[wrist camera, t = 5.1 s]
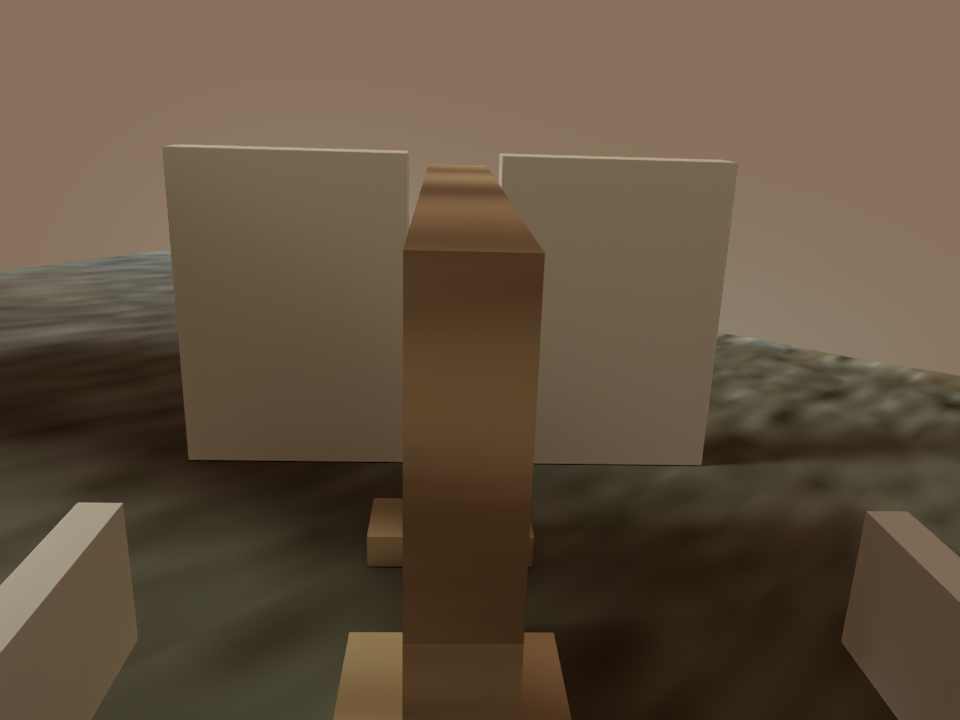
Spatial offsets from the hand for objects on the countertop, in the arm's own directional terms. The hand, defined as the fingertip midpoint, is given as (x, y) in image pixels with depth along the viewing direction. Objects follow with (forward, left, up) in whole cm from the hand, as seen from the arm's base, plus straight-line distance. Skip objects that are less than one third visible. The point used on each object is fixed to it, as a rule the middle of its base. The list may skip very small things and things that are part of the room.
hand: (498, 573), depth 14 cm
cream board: (-19, +13, -8) cm, 25 cm away
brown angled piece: (-6, +4, -8) cm, 11 cm away
